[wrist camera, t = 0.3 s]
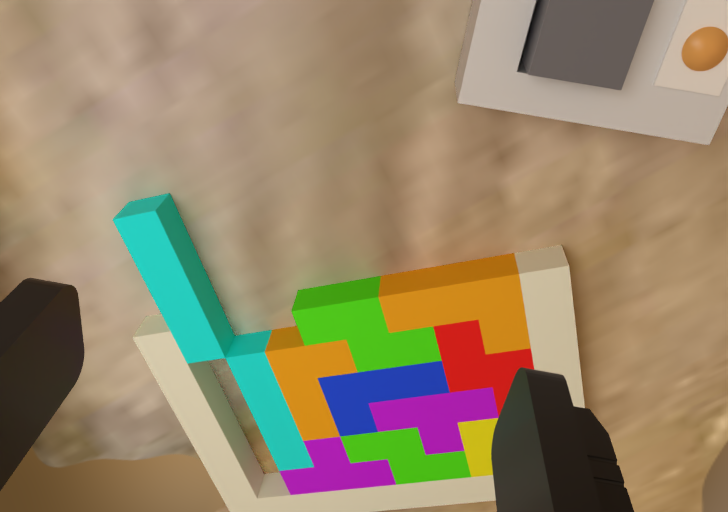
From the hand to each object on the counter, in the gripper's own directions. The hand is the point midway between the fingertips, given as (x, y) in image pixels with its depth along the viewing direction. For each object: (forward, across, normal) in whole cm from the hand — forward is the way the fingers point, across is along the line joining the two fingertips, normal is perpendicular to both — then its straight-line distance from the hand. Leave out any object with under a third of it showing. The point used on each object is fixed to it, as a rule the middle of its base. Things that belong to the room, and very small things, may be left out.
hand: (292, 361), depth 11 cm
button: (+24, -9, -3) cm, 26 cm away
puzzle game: (+27, -2, +22) cm, 35 cm away
